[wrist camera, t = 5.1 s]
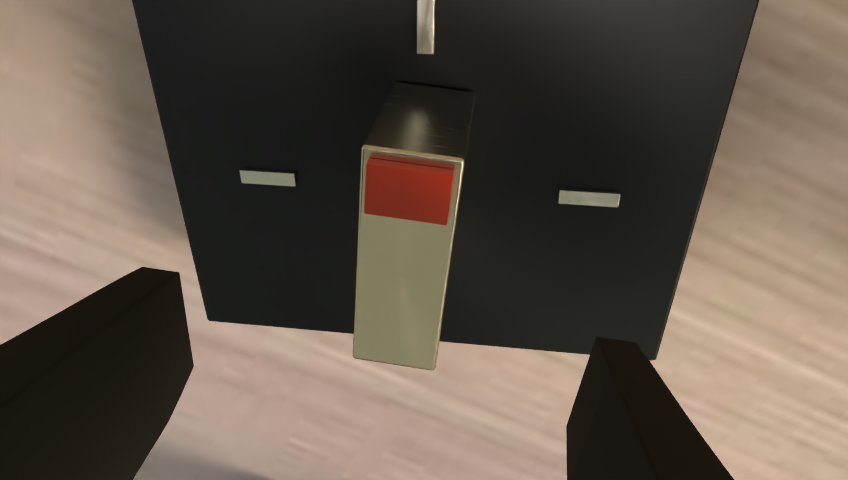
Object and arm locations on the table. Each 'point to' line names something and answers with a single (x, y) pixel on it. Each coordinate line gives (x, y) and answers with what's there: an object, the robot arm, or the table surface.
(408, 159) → the timer knob
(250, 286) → the panel
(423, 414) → the table surface
